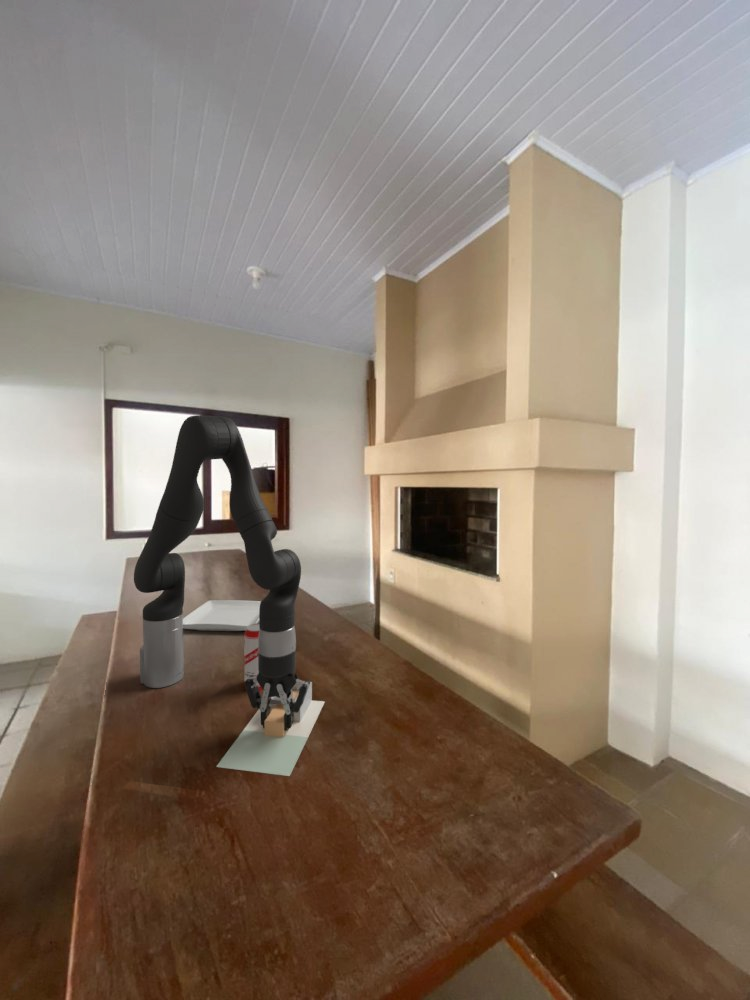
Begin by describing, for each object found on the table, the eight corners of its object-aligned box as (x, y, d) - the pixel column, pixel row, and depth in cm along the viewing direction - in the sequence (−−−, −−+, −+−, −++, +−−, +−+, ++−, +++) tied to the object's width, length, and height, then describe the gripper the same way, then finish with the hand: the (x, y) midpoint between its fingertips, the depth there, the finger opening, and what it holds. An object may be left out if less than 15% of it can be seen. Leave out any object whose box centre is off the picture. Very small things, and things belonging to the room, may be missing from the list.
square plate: (254, 636, 133) (254, 625, 133) (174, 634, 134) (173, 623, 133) (275, 609, 160) (275, 600, 160) (208, 608, 161) (208, 598, 160)
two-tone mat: (216, 771, 72) (215, 743, 71) (268, 700, 95) (268, 677, 94) (289, 781, 70) (289, 751, 69) (324, 705, 93) (325, 683, 92)
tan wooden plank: (264, 735, 80) (264, 721, 80) (285, 701, 92) (285, 689, 92) (283, 737, 80) (283, 723, 80) (302, 703, 92) (302, 691, 92)
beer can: (262, 696, 96) (262, 632, 95) (239, 693, 98) (239, 630, 97) (274, 683, 102) (274, 623, 101) (252, 680, 104) (252, 621, 103)
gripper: (235, 652, 78) (236, 735, 79) (304, 658, 76) (304, 743, 77) (252, 637, 86) (253, 713, 87) (315, 642, 84) (315, 720, 85)
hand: (277, 727), depth 82 cm, fingers closed on tan wooden plank, 4 cm apart
